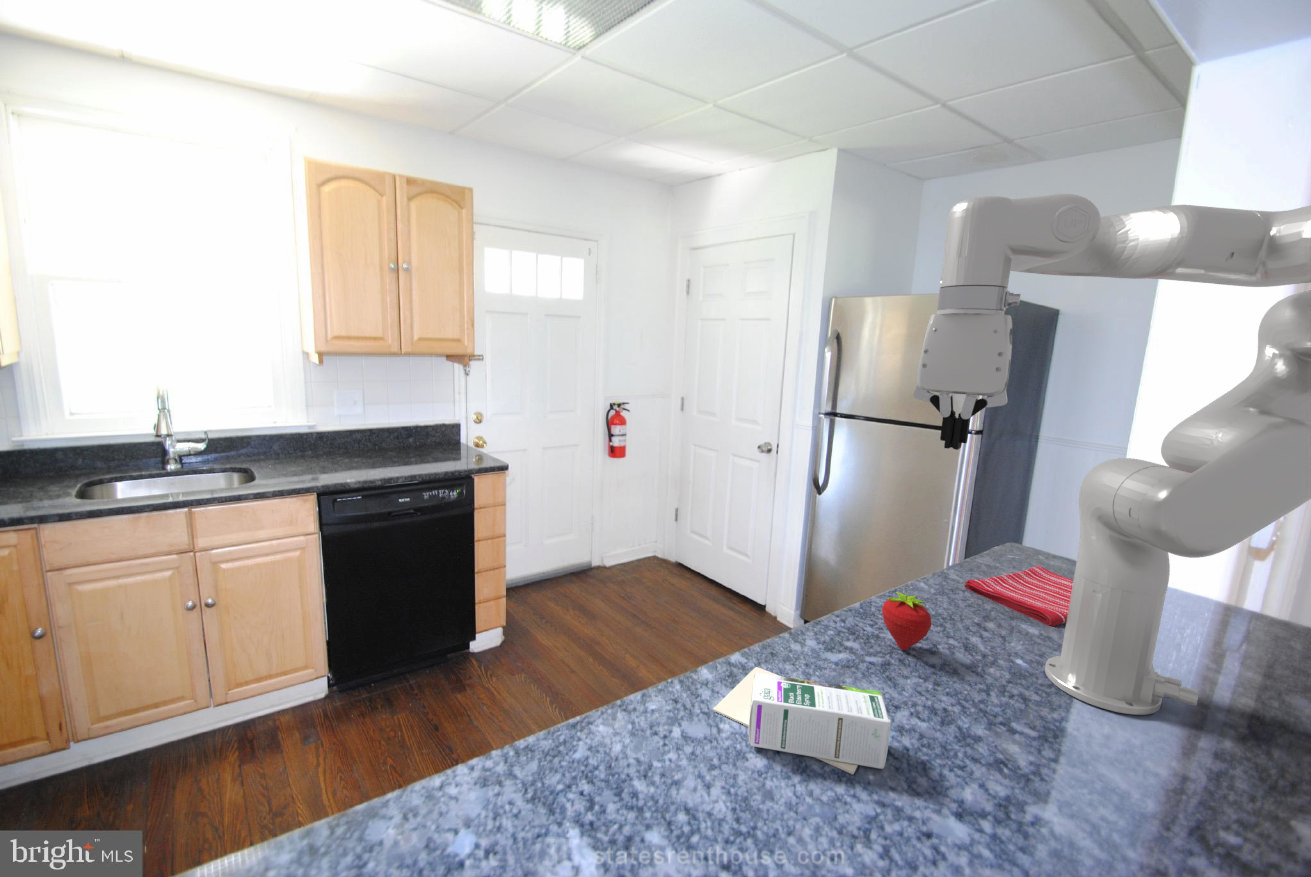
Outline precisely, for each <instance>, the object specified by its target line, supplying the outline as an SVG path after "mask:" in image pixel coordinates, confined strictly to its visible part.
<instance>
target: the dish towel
mask: <svg viewBox="0 0 1311 877" xmlns="http://www.w3.org/2000/svg"><path fill="white" fill-rule="evenodd" d="M1073 580H1074V579H1070V578H1068V577H1065V576H1062V575H1060V574H1057V573H1055V572H1052V571H1050V570H1049V569H1047V568H1044V567H1043V566H1041V565H1035V566H1032V567H1030V568H1029V569H1025V570H1023V571H1017V572H1013V573H1008V574H1004V575H1003V574H1001V575H997V576H991V577H987V578H979V579H968V580H967V581H965V584H964V587H965V589H966V590H969V591H970V592H973V593H975V594H978V595H980V596H981V597H984V598H987V599H988V600H991V601H993V602H995V603H998V604H1000V605H1002V606H1004V607H1007V608H1009V609H1011V610H1014V611H1015V612H1018V613H1020V614H1022V615H1024V616H1027V617H1029V618H1031V619H1033V620H1035V621H1036V622H1037V621H1038V622H1040V623H1042V624H1044V625H1046V626H1049V627H1055V626H1058V625H1064V624H1066V622H1067V616H1068V610H1069V604H1070V598H1071V592H1072V586H1073Z"/></svg>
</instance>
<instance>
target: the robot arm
mask: <svg viewBox="0 0 1311 877" xmlns="http://www.w3.org/2000/svg"><path fill="white" fill-rule="evenodd" d="M946 222H947V223H946V229H945V230H946V231H945V239H944V241H945V242H944V249H943V257H942V258H943V259H942V265H941V266H942V267H941V273H940V274H941V275H940V283H939V291H938V292H939V293H938V300H937V310H936V313H935V314H934V313H932V314H930V318H929V321H928V323H927V326H926V330H925V335H924V339H923V343H922V347H921V352H920V356H919V362H918V366H917V375H916V376H917V377H916V384H917V385H916V387H915V390H914V393H913V397H914V398H915V399H917V400H919V401H923V402H926V403H930V404H931V405H932V406H933V407H934V408H935V409H936V410H937V411H938V412H939V414H940V416H941V417H942V421H941V428H940V437H939V438H940V441H943V442H944V446H943V447H944V449H947V450H949V449H953V450H956V451H959V449H961V448H962V445H963V444H967V443H968V437H969V430H970V425H971V424H970V423H971V418H972V417H974V416H975V415H977V414H978V413H980V412H981V411H982V410H983V409H986V408H994V407H995V408H996V407H1001V406H1002V407H1003V406H1005V405H1007V403H1008V395H1007V388H1008V385H1009V382H1010V380H1009V378H1010V370H1011V361H1012V349H1013V320H1012V316H1011V315H1009V314H1005V312H1006V309H1009V307H1013V306H1019V305H1020V303H1021V302H1020V301H1021V293H1014V292H1011V291H1010V290H1009V282H1010V276H1011V275H1010V274H1011V272H1018V273H1026V274H1038V275H1047V276H1048V275H1049V276H1065V277H1066V276H1068V277H1094V278H1095V277H1099V278H1115V279H1127V280H1128V279H1129V280H1130V279H1133V280H1135V279H1136V280H1137V279H1139V280H1140V279H1142V280H1143V279H1144V280H1145V279H1151V280H1153V279H1154V280H1164V281H1165V280H1169V281H1176V282H1177V281H1178V282H1190V283H1191V282H1192V283H1201V284H1202V283H1203V284H1212V285H1213V284H1214V285H1223V286H1234V287H1235V286H1236V287H1248V288H1249V287H1250V288H1267V287H1268V288H1269V287H1281V286H1289V285H1290V286H1291V285H1298V284H1299V285H1300V284H1309V283H1311V205H1310V204H1309V205H1306V206H1302V207H1299V208H1293V209H1289V210H1281V211H1280V210H1278V211H1269V210H1253V209H1240V208H1238V209H1237V208H1229V207H1227V208H1226V207H1217V206H1206V205H1205V206H1203V205H1192V204H1175V205H1174V204H1173V205H1172V204H1171V205H1163V206H1155V207H1151V208H1145V209H1140V210H1136V211H1135V210H1134V211H1129V212H1125V213H1117V214H1113V215H1112V214H1111V215H1104V216H1101V214H1100V211H1099V208H1098V207H1097V206H1096V204H1094V202H1093V201H1092V200H1089V199H1088V198H1087V197H1084V196H1082V195H1078V194H1071V193H1057V194H1056V193H1055V194H1049V195H1040V196H1033V197H1031V196H1030V197H1023V198H1009V197H1007V196H1006V197H1005V196H996V195H994V196H993V195H987V196H986V195H985V196H984V195H983V196H977V197H970V198H967V199H963V200H961V201H959V202H957V203H956V204H954V205H953V206H952V207H951V209H950V210H949V212H948V218H947V221H946ZM1254 364H1255V365H1254V367H1253V369H1252V371H1251V372H1250V373H1249V374H1248V375H1247V377H1245V379H1243V380H1242V381H1241V382H1239V383H1238V384H1237V385H1235V386H1234V387H1233V388H1231V389H1230V390H1229V391H1227V392H1225V393H1223V394H1222V395H1221V396H1219V397H1217V398H1216V399H1215V400H1213V401H1212V402H1210V403H1208V404H1206V405H1205V406H1203V407H1202V408H1201V409H1200V408H1199V410H1197V411H1196V412H1195V413H1193V414H1191V415H1190V416H1188V417H1187V418H1185V419H1184V420H1182V421H1181V422H1179V423H1177V424H1176V426H1174V427H1173V428H1172V429H1171V430H1170V431H1169V432H1168V433H1166V435H1165V437H1164V438H1163V441H1162V443H1161V447H1160V453H1161V457H1162V459H1163V461H1164V462H1165V464H1166V465H1163V464H1161V463H1156V462H1152V461H1148V460H1144V459H1139V458H1131V457H1128V458H1127V457H1121V458H1120V457H1119V458H1113V459H1109V460H1105V461H1103V462H1101V463H1099V464H1097V465H1096V466H1093V468H1091V469H1090V470H1089V471H1088V473H1087V474H1086V475H1085V476H1084V478H1083V480H1082V481H1081V482H1082V483H1081V485H1080V489H1079V495H1078V496H1079V497H1078V512H1079V530H1080V531H1079V543H1078V544H1079V545H1078V551H1077V556H1076V557H1077V558H1076V563H1075V570H1074V573H1073V574H1074V576H1073V579H1072V580H1073V586H1072V592H1071V598H1070V604H1069V610H1068V616H1067V622H1066V623H1065V628H1064V629H1065V630H1064V633H1063V634H1064V635H1063V640H1062V646H1061V647H1062V648H1061V653H1060V655H1056V656H1052V657H1049V658H1048V659H1047V660H1046V662H1045V664H1044V665H1045V666H1044V672H1045V675H1046V677H1047V678H1048V679H1049V681H1050V682H1052V683H1053V684H1054V686H1057V687H1058V688H1059V689H1060V690H1062V691H1063V692H1065V693H1066V694H1068V695H1070V696H1072V697H1074V698H1075V699H1078V700H1080V701H1082V702H1085V703H1087V704H1089V705H1092V706H1094V707H1098V708H1101V709H1104V710H1107V711H1111V712H1115V713H1119V714H1120V713H1121V714H1124V715H1135V716H1145V715H1150V714H1151V715H1152V714H1154V713H1156V712H1158V711H1159V710H1160V709H1161V705H1162V699H1163V698H1164V697H1166V698H1168V699H1173V700H1175V701H1177V702H1181V703H1184V704H1186V705H1191V706H1193V707H1196V706H1197V705H1198V699H1199V691H1198V690H1197V689H1193V688H1189V687H1186V686H1182V680H1181V679H1178V678H1174V677H1170V676H1165V675H1161V674H1159V673H1158V671H1156V670H1155V668H1154V665H1153V661H1154V655H1155V651H1156V645H1157V640H1158V635H1159V630H1160V626H1161V625H1160V624H1161V620H1162V615H1163V610H1164V605H1165V600H1166V594H1167V591H1168V586H1169V582H1170V581H1169V580H1170V575H1171V574H1170V571H1171V568H1170V566H1171V564H1170V556H1169V555H1170V554H1172V555H1174V556H1178V557H1182V558H1183V557H1184V558H1190V559H1191V558H1192V559H1194V558H1195V559H1196V558H1207V557H1211V556H1214V555H1217V554H1219V553H1222V552H1224V551H1226V550H1228V549H1231V548H1233V547H1234V546H1236V545H1238V544H1239V543H1242V542H1243V541H1244V540H1247V539H1248V538H1250V537H1251V536H1253V535H1254V534H1256V533H1258V532H1260V531H1261V530H1263V529H1265V528H1267V527H1268V526H1269V525H1271V524H1273V523H1275V522H1277V521H1278V520H1280V519H1281V518H1282V517H1284V516H1286V515H1288V514H1289V513H1291V512H1292V511H1294V510H1296V509H1298V508H1299V507H1301V506H1302V505H1304V504H1305V503H1307V502H1308V501H1310V500H1311V290H1305V291H1300V292H1297V293H1294V294H1291V295H1287V296H1286V297H1284V298H1282V299H1280V300H1278V301H1277V302H1275V303H1274V304H1273V305H1272V306H1271V307H1270V308H1268V310H1267V311H1266V312H1265V314H1264V315H1263V317H1262V318H1261V321H1260V324H1259V326H1258V332H1257V355H1256V360H1255V363H1254ZM937 393H938V394H937ZM954 394H956V395H965V398H964V401H963V403H962V408H961V411H960V412H959V413H958V415H956V411H955V406H954ZM980 396H981V398H980ZM982 396H984V397H982ZM986 396H987V397H986Z"/></svg>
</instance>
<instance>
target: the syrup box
mask: <svg viewBox="0 0 1311 877" xmlns="http://www.w3.org/2000/svg"><path fill="white" fill-rule="evenodd" d="M891 722H892V721H891V719H890V718H889V715H888V711H887V708H886V704H885V701H884V696H883V693H882V692H881V691H879V690H874V689H873V690H872V689H868V688H867V689H865V688H860V687H854V686H848V685H847V686H846V685H840V684H839V685H838V684H832V683H826V682H821V681H813V680H807V679H801V678H800V679H799V678H794V677H787V676H781V675H779V676H775V675H768V674H762V673H755V676H754V681H753V688H752V698H751V707H750V717H749V727H748V737H749V738H748V739H749V745H750V746H751V747H755V748H756V747H757V748H761V749H762V748H763V749H766V750H773V751H777V752H778V751H779V752H783V753H790V754H795V755H801V756H808V757H812V758H815V757H817V758H823V759H828V760H834V761H840V762H845V763H851V764H856V765H858V766H862V767H863V766H864V767H867V768H874V769H881V770H883V769H884V768H885V766H886V761H887V756H888V752H889V751H888V750H889V742H890V734H891V726H892V723H891ZM817 758H816V759H817Z"/></svg>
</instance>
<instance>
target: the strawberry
mask: <svg viewBox="0 0 1311 877" xmlns="http://www.w3.org/2000/svg"><path fill="white" fill-rule="evenodd" d="M903 588H904V590H905V594H903V593H901V592H900V591H896V592H895V593H896V594H897V595H898V597H887V600H885V601H884V602H883V605H882V607H881V613H882V618H883V623H884V624H885V626H886V628H887V630H888V632H889V634H890V635H891V637H892V639H893V640H894V641H895V643H896V645H897V647H898V648H899V649H900V650H903V651H906V650H909V648H911V647H913V646H915V645H917V644H918V643H920V641H921V640H923V639H924V638H925V637H926V636H927V635H928V633H929V631H930V630H931V627H932V624H933V623H932V617H931V614H930V613H929V611H928V609H927V608H926V607H925V605H924V604H922V603H925V601H923V600H921V599H917V598H916V597H918V595H908V594H907V593H908V592H907V588H906V586H904V587H903Z"/></svg>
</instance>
